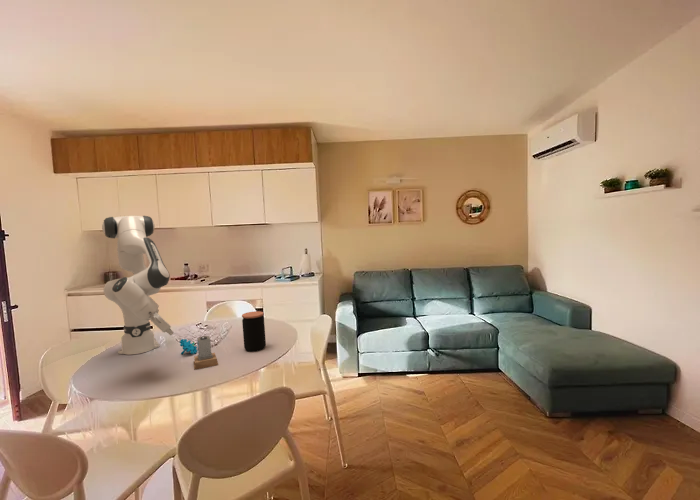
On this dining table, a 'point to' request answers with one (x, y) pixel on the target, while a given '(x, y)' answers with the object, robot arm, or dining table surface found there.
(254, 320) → the coffee jar
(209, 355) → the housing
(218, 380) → the dining table surface
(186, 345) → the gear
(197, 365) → the stand
